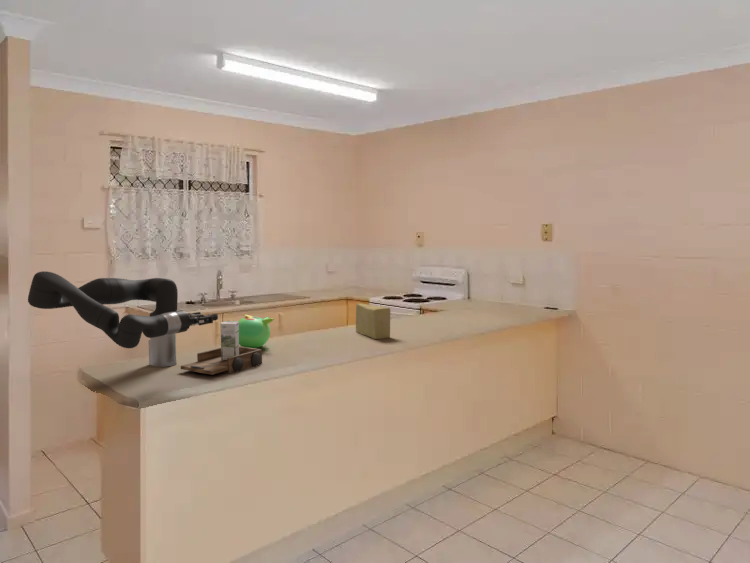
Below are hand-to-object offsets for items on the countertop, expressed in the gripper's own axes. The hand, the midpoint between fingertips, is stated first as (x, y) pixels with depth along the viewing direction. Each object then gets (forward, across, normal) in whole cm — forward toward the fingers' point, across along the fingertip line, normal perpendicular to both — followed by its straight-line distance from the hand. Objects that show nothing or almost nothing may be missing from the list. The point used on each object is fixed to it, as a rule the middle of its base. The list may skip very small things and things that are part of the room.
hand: (208, 315), depth 208 cm
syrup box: (+11, -1, -19) cm, 22 cm away
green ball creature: (+41, -17, -22) cm, 49 cm away
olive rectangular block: (+94, +11, -23) cm, 97 cm away
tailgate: (-2, -1, -20) cm, 20 cm away
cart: (+11, -1, -21) cm, 24 cm away
